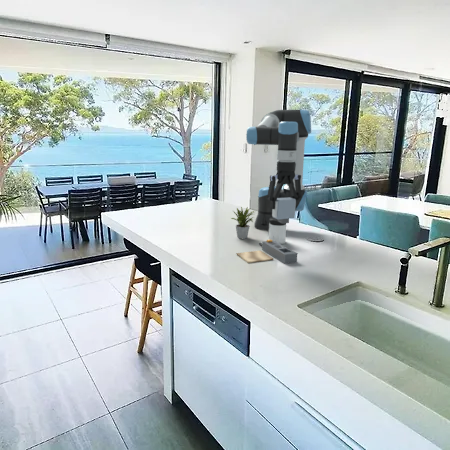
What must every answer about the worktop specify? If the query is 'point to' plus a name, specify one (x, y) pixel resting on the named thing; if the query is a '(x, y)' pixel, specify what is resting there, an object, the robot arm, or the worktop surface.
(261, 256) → the tan flat square block
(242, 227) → the house plant
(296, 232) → the worktop surface
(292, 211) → the block
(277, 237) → the jar
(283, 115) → the robot arm
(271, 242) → the power strip
